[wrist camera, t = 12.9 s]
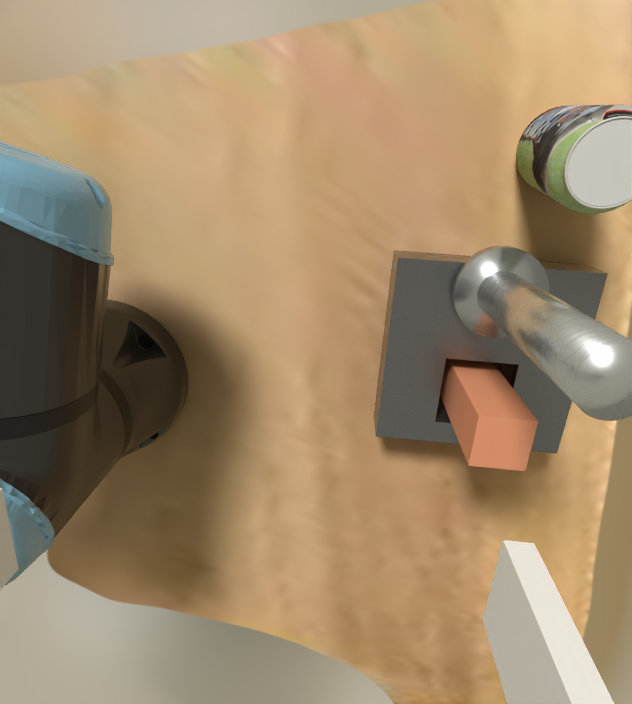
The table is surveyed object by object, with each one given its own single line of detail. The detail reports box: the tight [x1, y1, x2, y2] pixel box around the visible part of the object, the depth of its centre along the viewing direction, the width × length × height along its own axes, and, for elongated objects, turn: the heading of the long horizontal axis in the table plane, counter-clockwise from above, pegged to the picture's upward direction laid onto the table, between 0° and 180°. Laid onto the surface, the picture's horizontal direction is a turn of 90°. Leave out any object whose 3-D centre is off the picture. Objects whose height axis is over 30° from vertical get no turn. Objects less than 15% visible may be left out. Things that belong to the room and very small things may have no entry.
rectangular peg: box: [440, 358, 538, 471], centre depth 38 cm, size 4×4×12 cm
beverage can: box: [516, 105, 632, 214], centre depth 32 cm, size 6×7×12 cm
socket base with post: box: [374, 246, 632, 453], centre depth 32 cm, size 16×18×22 cm
